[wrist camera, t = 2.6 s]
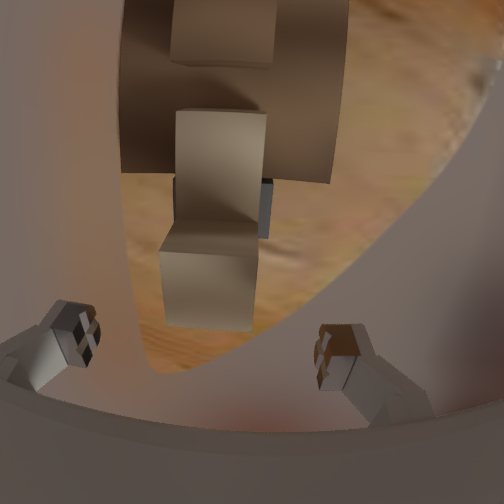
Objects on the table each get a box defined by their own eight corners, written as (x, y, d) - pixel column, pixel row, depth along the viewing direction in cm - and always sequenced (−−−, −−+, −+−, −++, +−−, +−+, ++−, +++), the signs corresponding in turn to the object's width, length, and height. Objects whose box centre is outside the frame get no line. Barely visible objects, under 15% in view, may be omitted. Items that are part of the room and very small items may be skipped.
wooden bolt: (186, 108, 13) (153, 118, 9) (265, 111, 13) (270, 122, 9) (187, 264, 17) (166, 325, 13) (252, 268, 17) (251, 332, 13)
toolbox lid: (156, -86, 9) (123, -130, 4) (340, -81, 9) (369, -127, 4) (135, 162, 17) (90, 196, 12) (321, 172, 17) (348, 211, 12)
